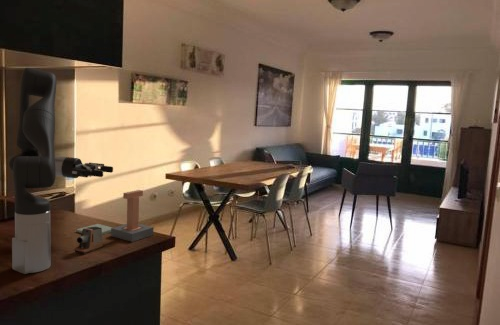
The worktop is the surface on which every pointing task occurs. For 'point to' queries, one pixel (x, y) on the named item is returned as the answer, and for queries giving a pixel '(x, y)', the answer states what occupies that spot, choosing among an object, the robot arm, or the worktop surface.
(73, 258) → the worktop surface
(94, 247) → the electronic device
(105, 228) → the mat
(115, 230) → the socket block
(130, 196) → the t key
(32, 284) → the worktop surface
